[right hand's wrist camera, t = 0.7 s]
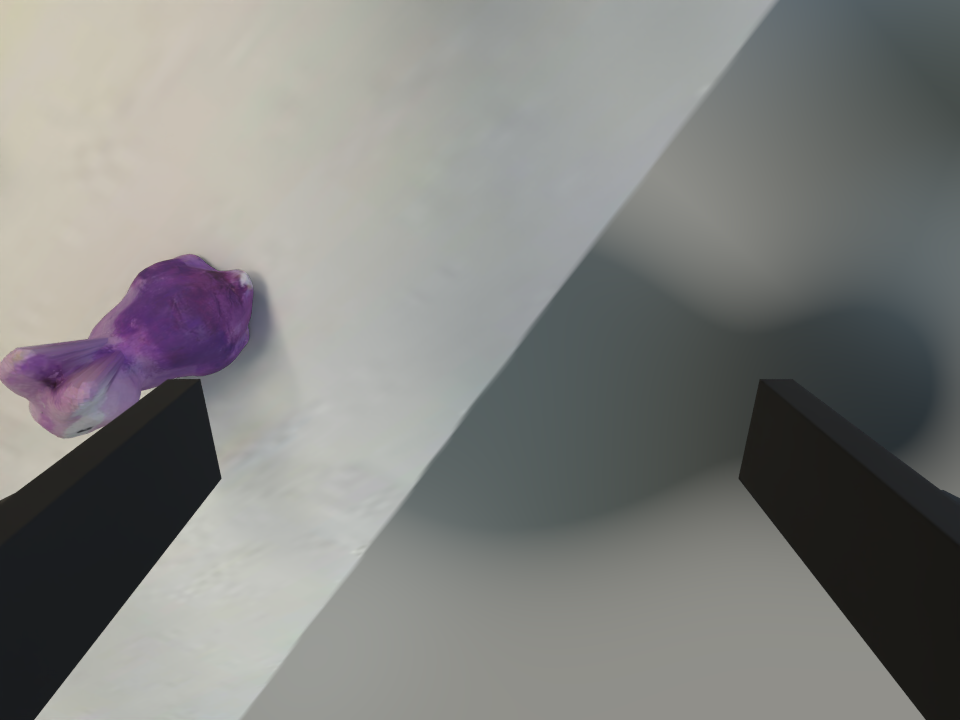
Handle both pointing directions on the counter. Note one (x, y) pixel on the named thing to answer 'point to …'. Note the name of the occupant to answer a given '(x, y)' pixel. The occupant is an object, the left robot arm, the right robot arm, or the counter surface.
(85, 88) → the counter surface
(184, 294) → the figurine
